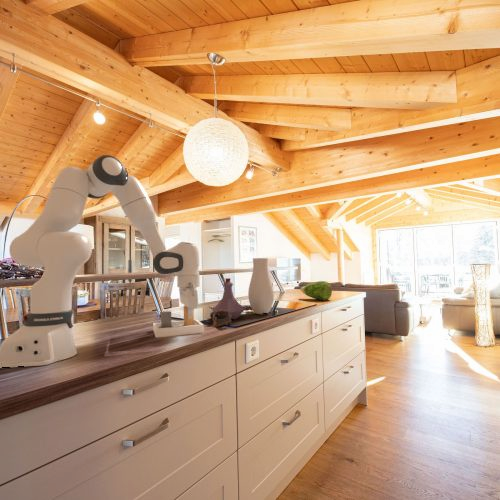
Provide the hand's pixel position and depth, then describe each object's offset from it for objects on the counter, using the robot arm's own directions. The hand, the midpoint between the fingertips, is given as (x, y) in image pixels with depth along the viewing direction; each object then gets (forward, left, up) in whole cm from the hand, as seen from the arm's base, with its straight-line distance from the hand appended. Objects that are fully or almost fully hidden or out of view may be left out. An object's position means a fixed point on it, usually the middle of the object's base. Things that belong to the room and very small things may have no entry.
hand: (188, 317), depth 131 cm
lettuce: (+103, +70, -7) cm, 124 cm away
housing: (-4, 0, -7) cm, 8 cm away
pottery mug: (+16, +9, -7) cm, 19 cm away
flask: (+25, +26, -7) cm, 36 cm away
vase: (+45, +31, -7) cm, 55 cm away
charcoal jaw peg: (-9, 0, -5) cm, 10 cm away
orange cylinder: (0, 0, -4) cm, 4 cm away
